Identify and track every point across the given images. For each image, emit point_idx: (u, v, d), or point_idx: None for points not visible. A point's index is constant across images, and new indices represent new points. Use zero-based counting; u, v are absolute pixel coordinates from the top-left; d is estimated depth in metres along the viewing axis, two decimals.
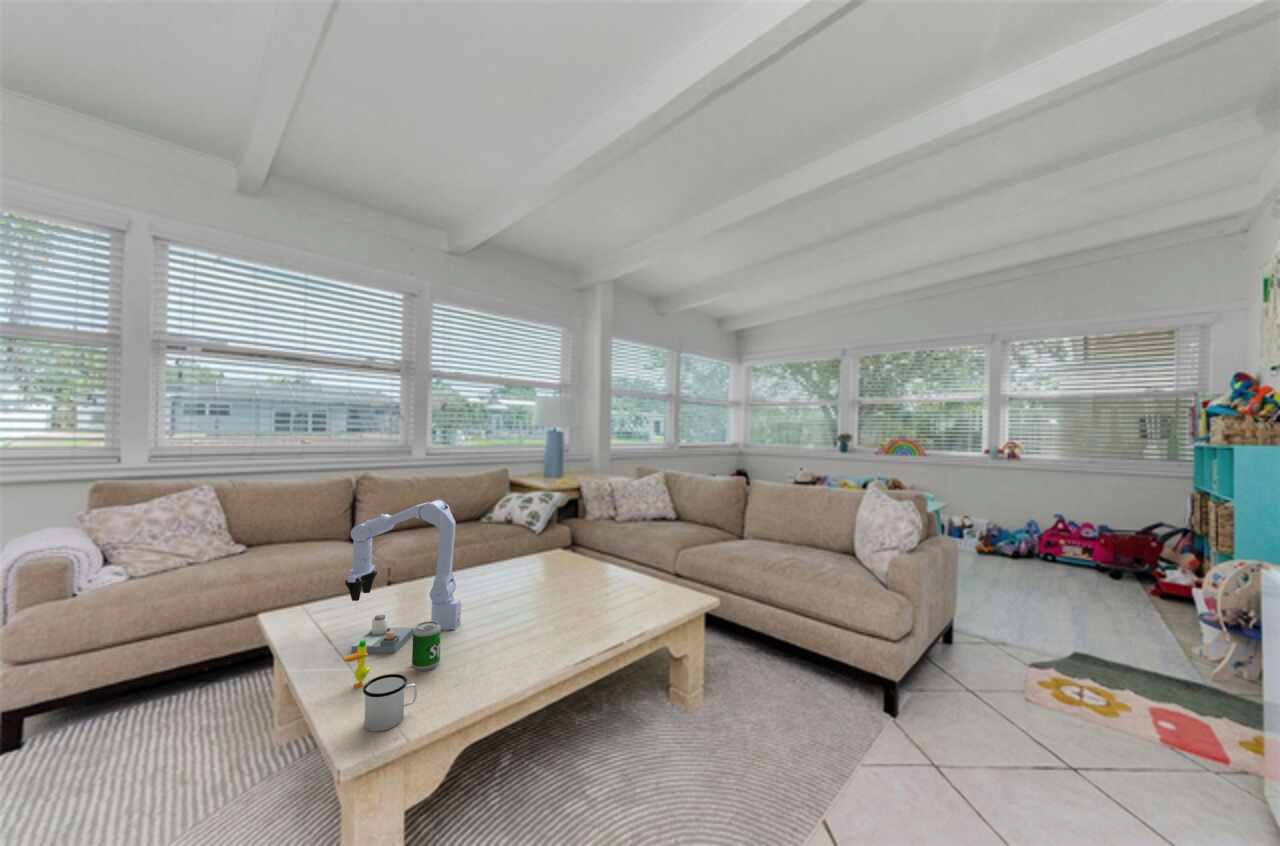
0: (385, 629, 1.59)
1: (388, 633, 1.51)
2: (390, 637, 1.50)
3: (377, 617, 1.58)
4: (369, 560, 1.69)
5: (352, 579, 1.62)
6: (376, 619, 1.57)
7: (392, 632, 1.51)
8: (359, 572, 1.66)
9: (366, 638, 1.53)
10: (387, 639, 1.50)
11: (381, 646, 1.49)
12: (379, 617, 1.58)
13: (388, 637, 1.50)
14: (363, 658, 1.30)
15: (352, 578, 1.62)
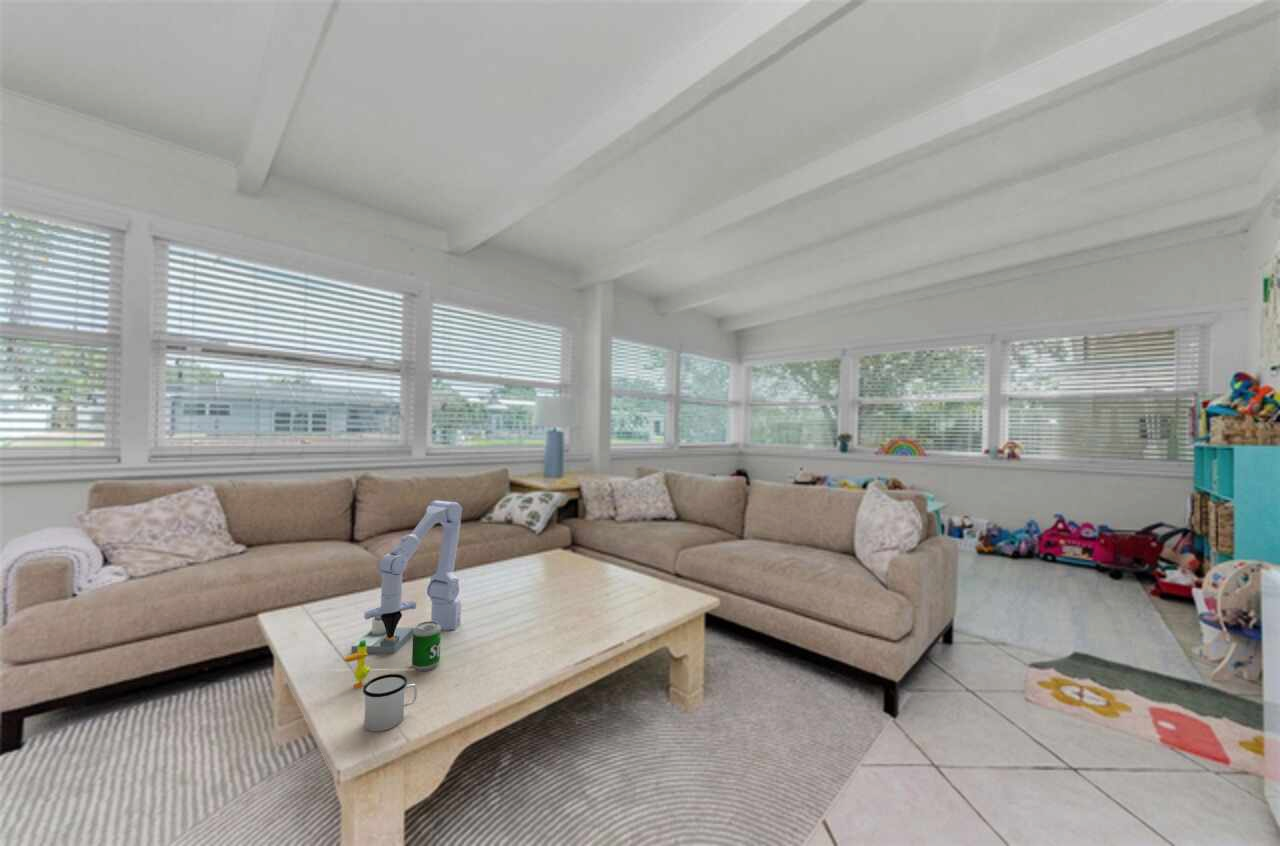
0: (385, 629, 1.59)
1: None
2: None
3: (377, 617, 1.58)
4: (391, 598, 1.49)
5: (365, 616, 1.46)
6: (376, 619, 1.57)
7: None
8: (381, 609, 1.49)
9: (366, 638, 1.53)
10: None
11: (381, 646, 1.49)
12: (379, 617, 1.58)
13: None
14: (363, 658, 1.30)
15: (365, 615, 1.46)
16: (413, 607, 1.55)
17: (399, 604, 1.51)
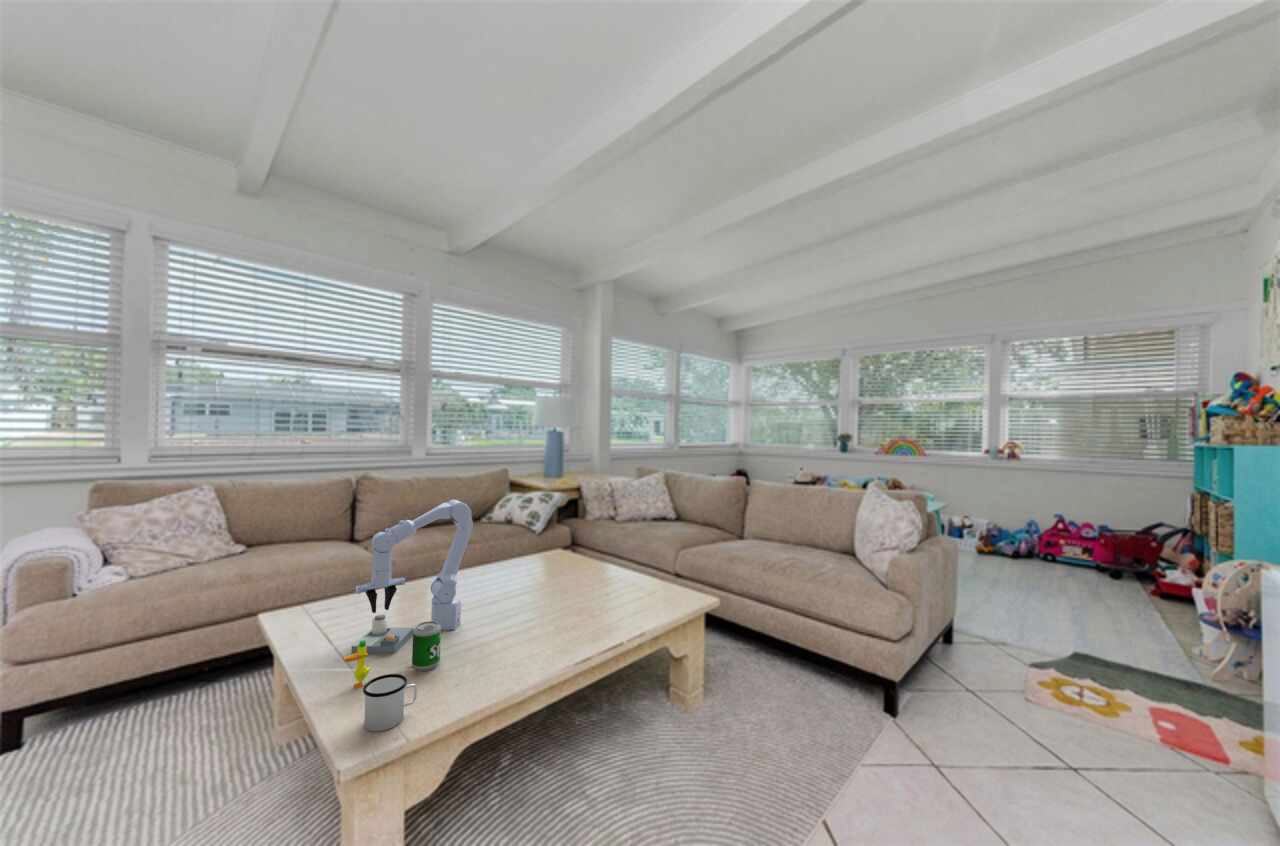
0: (385, 629, 1.59)
1: (388, 636, 1.51)
2: None
3: (377, 617, 1.58)
4: (381, 573, 1.57)
5: (356, 590, 1.54)
6: (376, 619, 1.57)
7: (392, 636, 1.51)
8: (372, 584, 1.57)
9: (366, 638, 1.53)
10: None
11: (381, 646, 1.49)
12: (379, 617, 1.58)
13: None
14: (363, 658, 1.30)
15: (356, 589, 1.54)
16: (402, 583, 1.63)
17: (389, 580, 1.59)
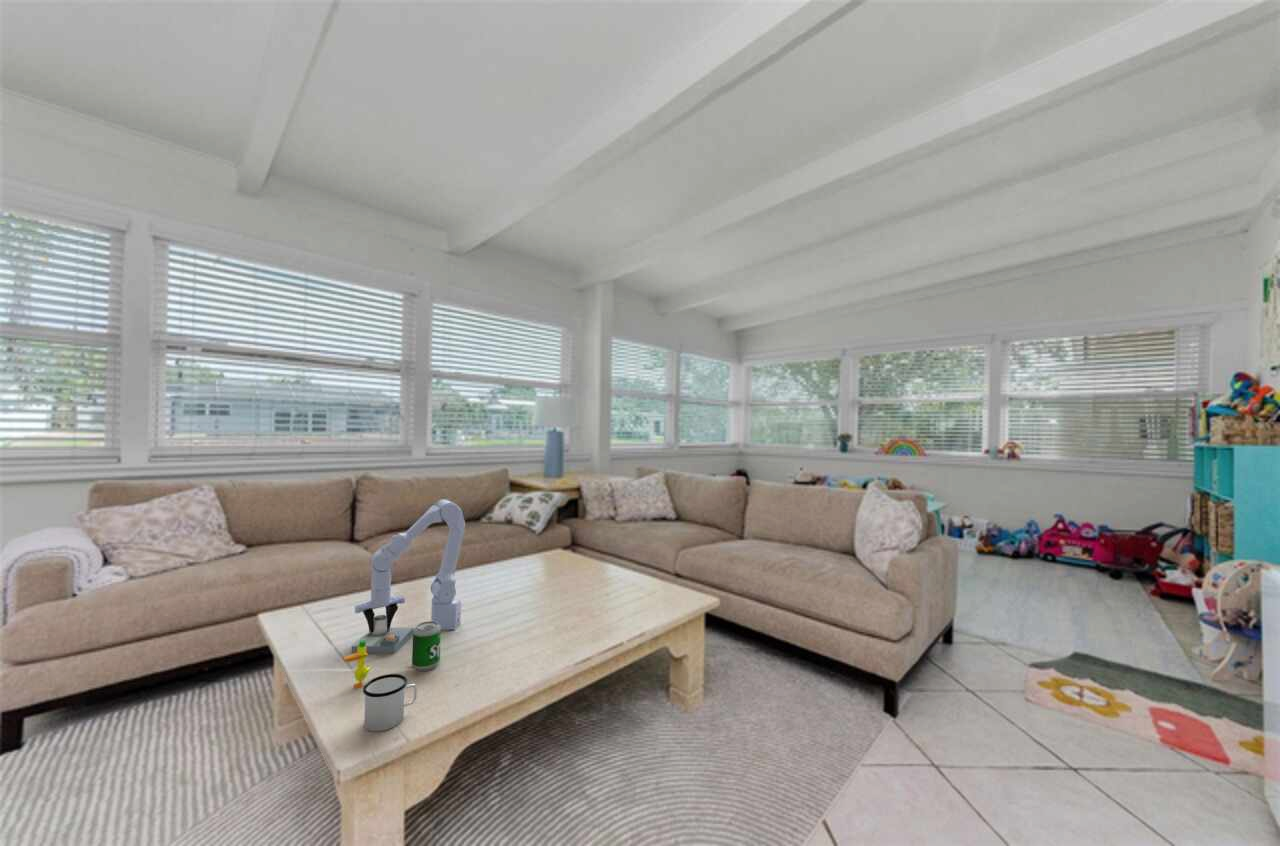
0: (385, 629, 1.59)
1: (388, 636, 1.51)
2: None
3: (377, 617, 1.58)
4: (381, 593, 1.57)
5: (356, 610, 1.54)
6: (376, 619, 1.57)
7: (392, 636, 1.51)
8: (371, 603, 1.57)
9: (366, 638, 1.53)
10: None
11: (381, 646, 1.49)
12: (379, 617, 1.58)
13: None
14: (363, 658, 1.30)
15: (356, 608, 1.54)
16: (402, 602, 1.63)
17: (388, 599, 1.59)
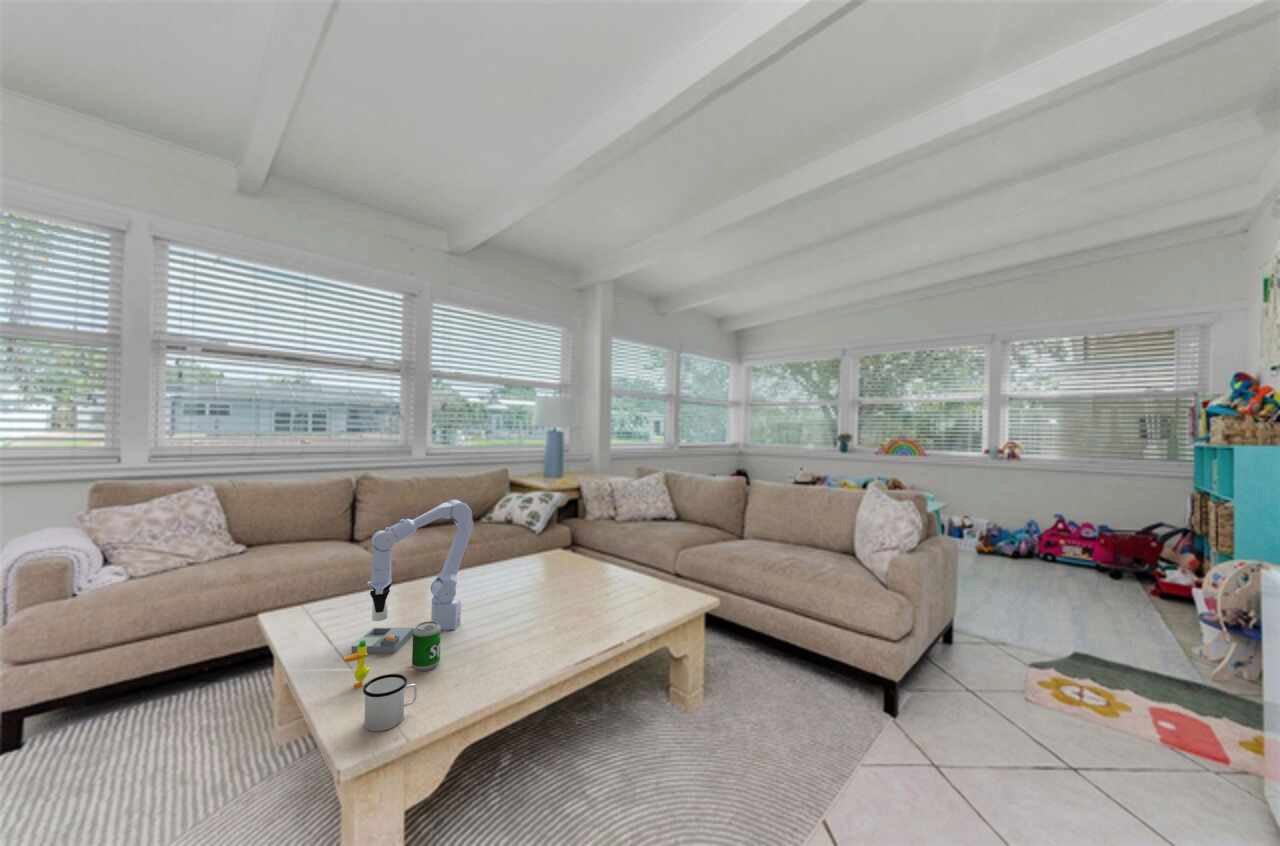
0: None
1: (388, 636, 1.51)
2: None
3: None
4: (390, 569, 1.60)
5: (380, 590, 1.53)
6: None
7: (392, 636, 1.51)
8: (382, 583, 1.57)
9: (366, 638, 1.53)
10: None
11: (381, 646, 1.49)
12: None
13: None
14: (363, 658, 1.30)
15: (380, 589, 1.53)
16: None
17: None
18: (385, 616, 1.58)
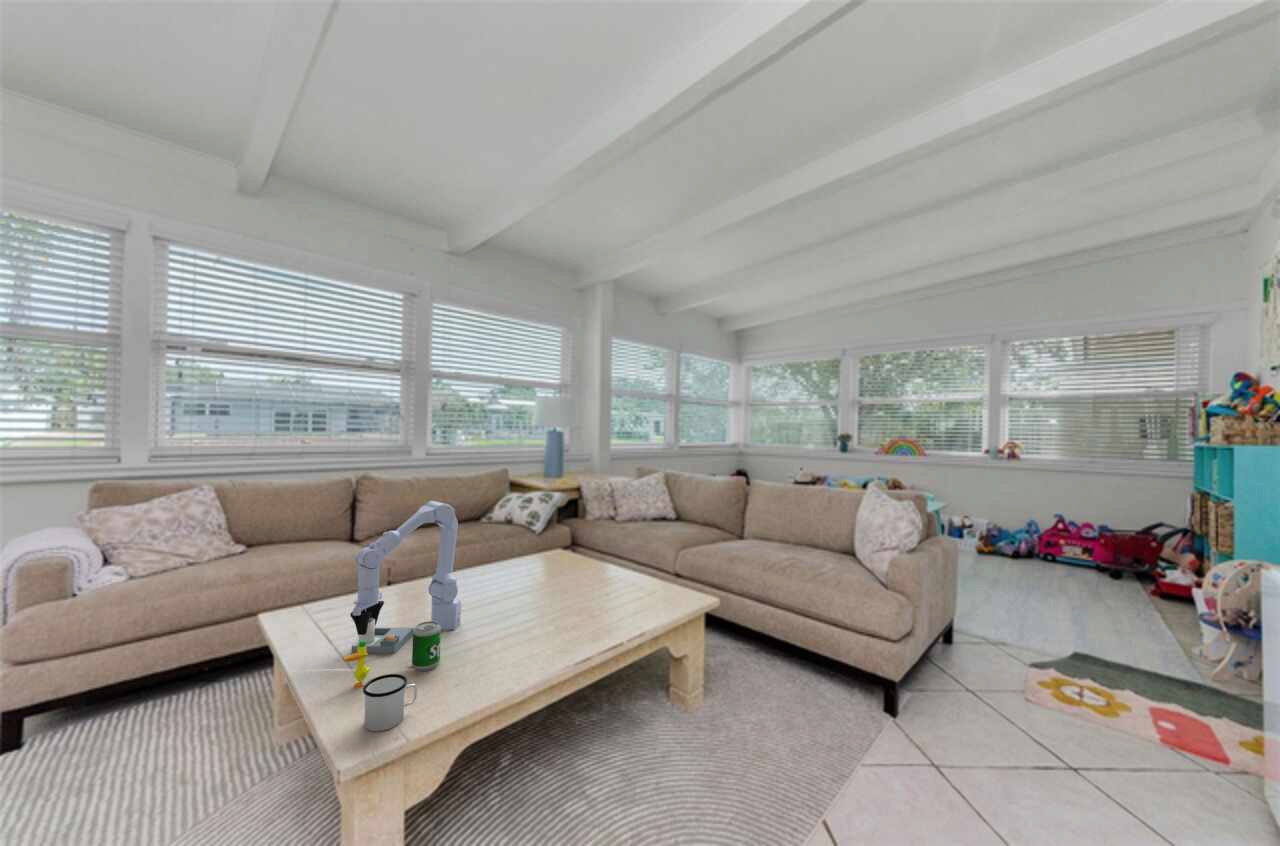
0: None
1: (388, 636, 1.51)
2: None
3: None
4: (376, 589, 1.51)
5: (357, 612, 1.44)
6: (368, 621, 1.50)
7: (392, 636, 1.51)
8: (365, 603, 1.49)
9: None
10: None
11: (381, 646, 1.49)
12: None
13: None
14: (363, 658, 1.30)
15: (357, 611, 1.44)
16: (380, 597, 1.58)
17: None
18: (370, 640, 1.50)
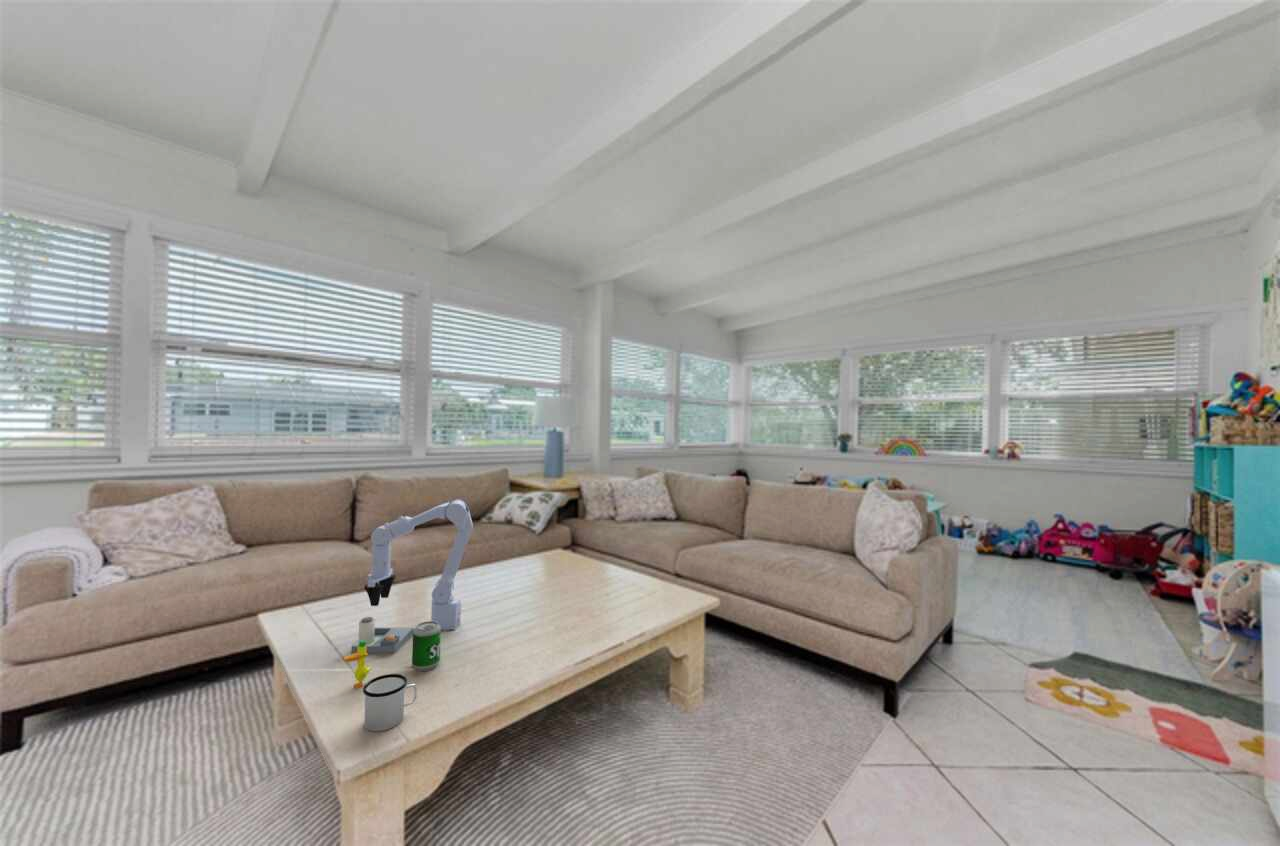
0: None
1: (388, 636, 1.51)
2: None
3: (366, 620, 1.51)
4: (388, 564, 1.65)
5: (372, 584, 1.59)
6: (368, 621, 1.50)
7: (392, 636, 1.51)
8: (378, 576, 1.63)
9: None
10: None
11: (381, 646, 1.49)
12: (368, 619, 1.51)
13: None
14: (363, 658, 1.30)
15: (372, 583, 1.59)
16: (391, 573, 1.72)
17: None
18: (370, 640, 1.50)
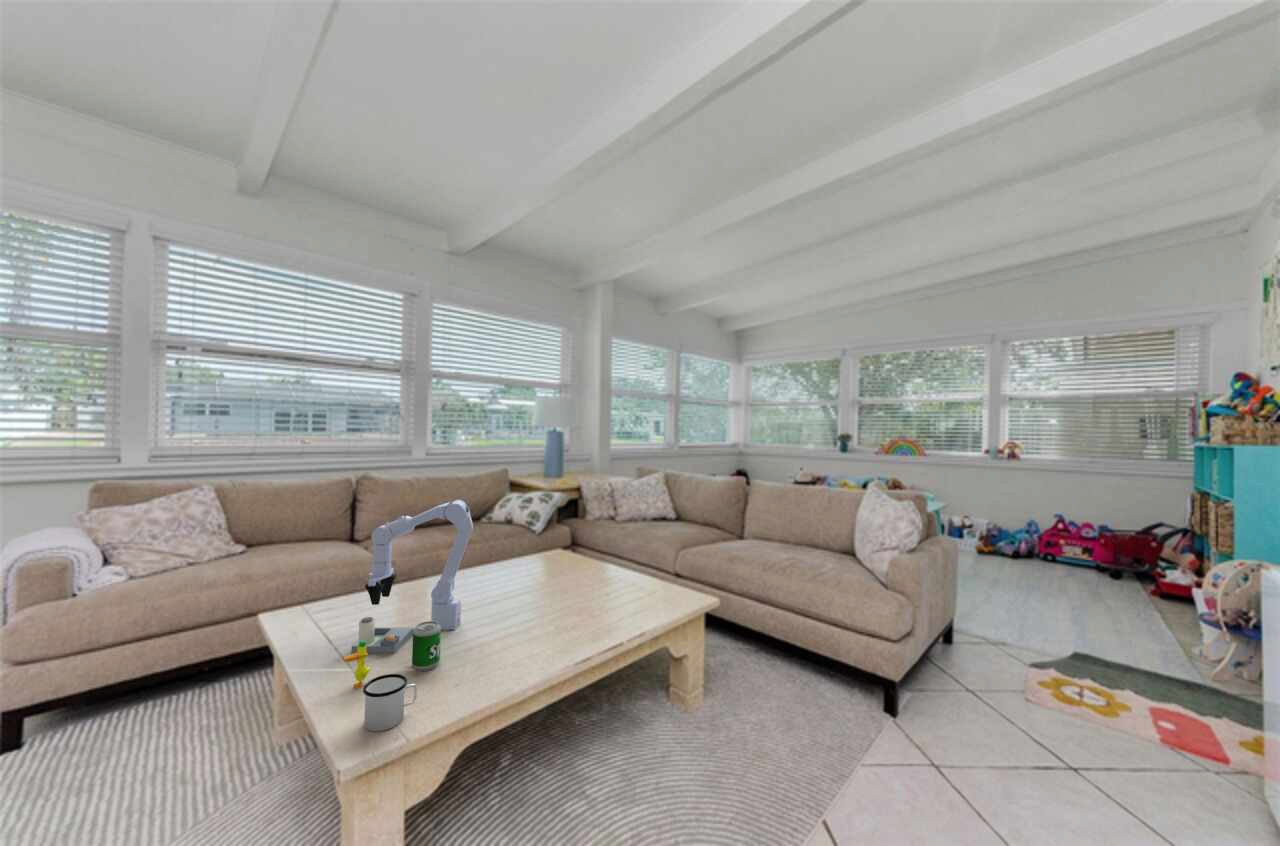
0: None
1: (388, 636, 1.51)
2: None
3: (366, 620, 1.51)
4: (389, 563, 1.66)
5: (372, 583, 1.60)
6: (368, 621, 1.50)
7: (392, 636, 1.51)
8: (379, 575, 1.64)
9: None
10: None
11: (381, 646, 1.49)
12: (368, 619, 1.51)
13: None
14: (363, 658, 1.30)
15: (372, 582, 1.60)
16: (392, 572, 1.73)
17: None
18: (370, 640, 1.50)
